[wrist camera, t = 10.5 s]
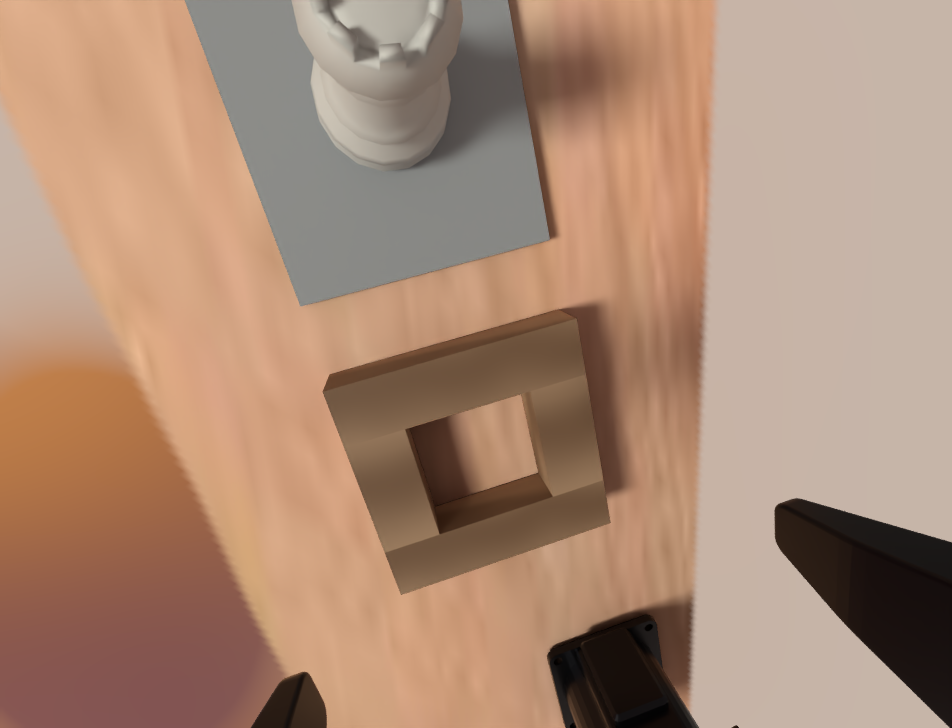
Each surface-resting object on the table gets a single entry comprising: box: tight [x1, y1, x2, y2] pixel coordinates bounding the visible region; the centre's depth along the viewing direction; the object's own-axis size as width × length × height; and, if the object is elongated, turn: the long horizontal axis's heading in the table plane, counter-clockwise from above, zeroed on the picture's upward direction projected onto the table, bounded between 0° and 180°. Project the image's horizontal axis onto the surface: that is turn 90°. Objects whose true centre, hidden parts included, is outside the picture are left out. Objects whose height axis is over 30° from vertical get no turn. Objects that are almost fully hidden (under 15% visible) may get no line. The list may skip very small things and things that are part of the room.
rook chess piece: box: [291, 0, 463, 171], centre depth 11 cm, size 4×4×8 cm
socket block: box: [323, 310, 610, 595], centre depth 19 cm, size 10×10×2 cm
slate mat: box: [185, 0, 550, 306], centre depth 15 cm, size 12×10×1 cm
